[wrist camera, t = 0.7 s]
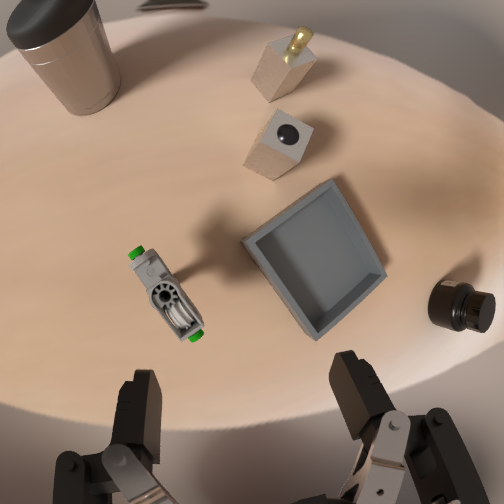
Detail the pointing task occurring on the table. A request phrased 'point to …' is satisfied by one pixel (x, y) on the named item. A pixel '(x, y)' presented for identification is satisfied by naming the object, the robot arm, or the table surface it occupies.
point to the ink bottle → (461, 307)
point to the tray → (317, 258)
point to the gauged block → (284, 65)
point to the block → (278, 146)
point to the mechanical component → (167, 294)
